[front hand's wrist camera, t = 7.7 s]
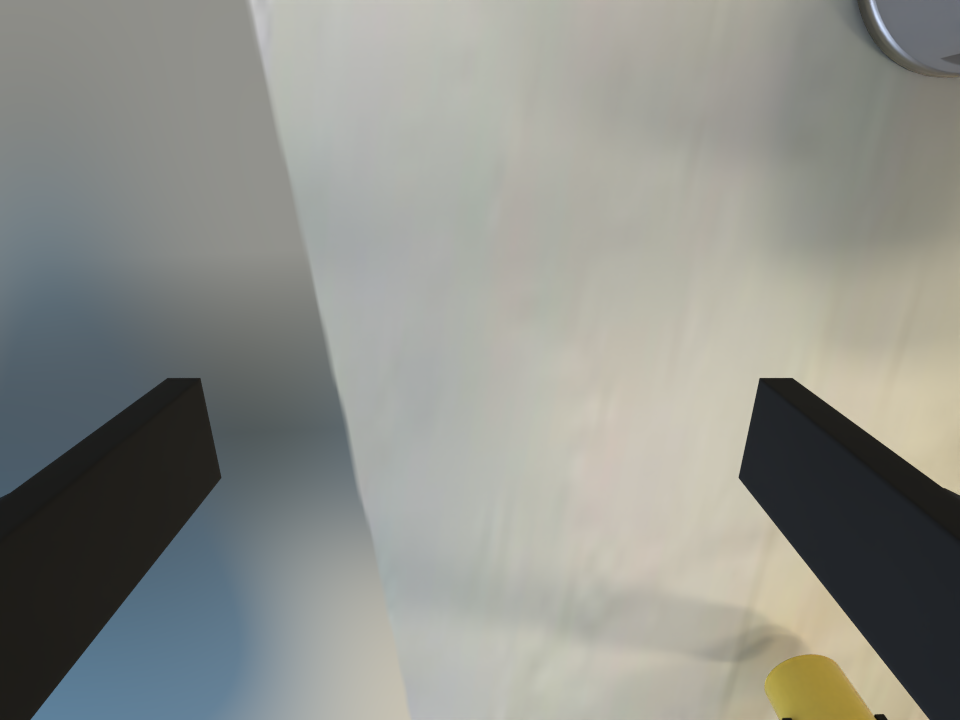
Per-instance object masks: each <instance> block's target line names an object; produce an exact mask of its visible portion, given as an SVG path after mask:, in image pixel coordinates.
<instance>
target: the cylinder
mask: <svg viewBox="0 0 960 720" xmlns="http://www.w3.org/2000/svg"><path fill="white" fill-rule="evenodd" d="M765 693H766V695H767V697H768V699H769V701H770V703H771V705H772V707H773V708H774V710H775V712H776V714H777V716H778V718H779V720H782V718H792V720H876V718H875V717H874V715H873V714H872V713H871V711H870V710H869V708H868V707H867V705H866V704H865V703H864V701H863V700H862V698H861V697H860V695H859V694H858V693H857V691H856V690H855V688H854V687H853V685H852V684H851V683H850V681H849V680H848V678H847V677H846V675H845V674H844V672H843V671H842V670H841V668H840V667H839V665H838V664H837V663H836V662H835V661H833V660H832V659H830V658H828V657H825V656H821V655H811V654H810V655H801V656H797V657H793V658H790V659H788V660H786V661H784V662H782V663H780V664H779V665H778V666H776V667H775V668H774V669H773V670H772V671H771V672H770V674H769V675H768V677H767V679H766V681H765Z"/></svg>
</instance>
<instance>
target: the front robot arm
mask: <svg viewBox="0 0 960 720" xmlns="http://www.w3.org/2000/svg"><path fill="white" fill-rule="evenodd" d="M857 1H858V5H859V9H860V12H861V15H862V18H863V21H864V23H865V25H866V28H867V30H868V32H869V34H870V35H871V37H872V38H873V40H874V41H875V43H876V44H877V45H878V46H879V48H880V49H881V50H882V51H883V52H884V53H885V54H886V55H887V56H888V57H889V58H890V59H892V60H893V61H895V62H896V63H897V64H899V65H901V66H902V67H904V68H906V69H908V70H911V71H913V72H916V73H919V74H923V75H927V76H934V77H958V76H960V0H857ZM220 479H221V474H220V469H219V464H218V460H217V455H216V450H215V446H214V441H213V436H212V431H211V426H210V422H209V417H208V412H207V407H206V403H205V398H204V393H203V389H202V384H201V379H200V378H167V379H166V380H164V381H163V382H162V383H160V384H159V385H158V386H156V387H155V388H153V389H152V390H151V391H149V392H148V393H147V394H145V395H144V396H143V397H141V398H140V399H138V400H137V401H136V402H134V403H133V404H132V405H130V406H129V407H127V408H126V409H125V410H123V411H122V412H121V413H119V414H118V415H116V416H115V417H114V418H112V419H111V420H110V421H108V422H107V423H105V424H104V425H103V426H101V427H100V428H99V429H97V430H96V431H95V432H93V433H92V434H90V435H89V436H88V437H86V438H85V439H84V440H82V441H81V442H79V443H78V444H77V445H75V446H74V447H73V448H71V449H70V450H68V451H67V452H66V453H64V454H63V455H62V456H60V457H59V458H58V459H56V460H55V461H54V462H52V463H51V464H49V465H48V466H47V467H45V468H44V469H42V470H41V471H40V472H38V473H37V474H36V475H34V476H33V477H32V478H30V479H29V480H27V481H26V482H25V483H23V484H22V485H21V486H19V487H18V488H16V489H15V490H14V491H12V492H11V493H9V494H7V495H5V496H3V497H1V498H0V720H31V718H32V717H33V716H34V715H35V713H36V712H37V711H38V709H39V708H40V707H41V706H42V704H43V703H44V702H45V701H46V699H47V698H48V697H49V696H50V694H51V693H52V692H53V690H54V689H55V688H56V687H57V685H58V684H59V683H60V682H61V680H62V679H63V678H64V676H65V675H66V674H67V673H68V671H69V670H70V669H71V668H72V666H73V665H74V664H75V663H76V661H77V660H78V659H79V658H80V656H81V655H82V654H83V652H84V651H85V650H86V649H87V647H88V646H89V645H90V644H91V642H92V641H93V640H94V639H95V637H96V636H97V635H98V633H99V632H100V631H101V630H102V628H103V627H104V626H105V624H106V623H107V622H108V621H109V620H110V618H111V617H112V616H113V614H114V613H115V612H116V611H117V609H118V608H119V607H120V606H121V604H122V603H123V602H124V601H125V599H126V598H127V597H128V595H129V594H130V593H131V592H132V590H133V589H134V588H135V587H136V585H137V584H138V583H139V582H140V580H141V579H142V578H143V576H144V575H145V574H146V573H147V571H148V570H149V569H150V568H151V566H152V565H153V564H154V562H155V561H156V560H157V559H158V557H159V556H160V555H161V554H162V552H163V551H164V550H165V548H166V547H167V546H168V545H169V544H170V542H171V541H172V540H173V538H174V537H175V536H176V535H177V533H178V532H179V531H180V530H181V528H182V527H183V526H184V524H185V523H186V522H187V521H188V519H189V518H190V517H191V516H192V514H193V513H194V512H195V511H196V509H197V508H198V507H199V505H200V504H201V503H202V502H203V500H204V499H205V498H206V497H207V495H208V494H209V493H210V492H211V490H212V489H213V488H214V486H215V485H216V484H217V483H218V481H219V480H220ZM739 479H740V480H741V481H742V483H743V484H744V485H745V486H746V488H747V489H748V490H749V492H750V493H751V494H752V495H753V497H754V498H755V499H756V500H757V502H758V503H759V504H760V505H761V507H762V508H763V509H764V511H765V512H766V513H767V514H768V516H769V517H770V518H771V519H772V521H773V522H774V523H775V525H776V526H777V527H778V528H779V530H780V531H781V532H782V533H783V535H784V536H785V537H786V538H787V540H788V541H789V542H790V544H791V545H792V546H793V547H794V549H795V550H796V551H797V552H798V554H799V555H800V556H801V557H802V559H803V560H804V561H805V563H806V564H807V565H808V566H809V568H810V569H811V570H812V571H813V573H814V574H815V575H816V576H817V578H818V579H819V580H820V582H821V583H822V584H823V585H824V587H825V588H826V589H827V590H828V592H829V593H830V594H831V595H832V597H833V598H834V599H835V601H836V602H837V603H838V604H839V606H840V607H841V608H842V609H843V611H844V612H845V613H846V614H847V616H848V617H849V618H850V620H851V621H852V622H853V623H854V625H855V626H856V627H857V628H858V630H859V631H860V632H861V633H862V635H863V636H864V637H865V639H866V640H867V641H868V642H869V644H870V645H871V646H872V647H873V649H874V650H875V651H876V652H877V654H878V655H879V656H880V658H881V659H882V660H883V661H884V663H885V664H886V665H887V666H888V668H889V669H890V670H891V671H892V673H893V674H894V675H895V677H896V678H897V679H898V680H899V682H900V683H901V684H902V685H903V687H904V688H905V689H906V690H907V692H908V693H909V694H910V696H911V697H912V698H913V699H914V701H915V702H916V703H917V704H918V706H919V707H920V708H921V709H922V711H923V712H924V713H925V715H926V716H927V717H928V718H929V720H960V495H958V494H956V493H954V492H952V491H950V490H947V489H945V488H942V487H941V486H939V485H938V484H937V483H935V482H934V481H933V480H931V479H930V478H929V477H927V476H926V475H924V474H923V473H922V472H920V471H919V470H918V469H916V468H915V467H913V466H912V465H911V464H909V463H908V462H907V461H905V460H904V459H902V458H901V457H900V456H898V455H897V454H896V453H894V452H893V451H892V450H890V449H889V448H887V447H886V446H885V445H883V444H882V443H881V442H879V441H878V440H876V439H875V438H874V437H872V436H871V435H870V434H868V433H867V432H865V431H864V430H863V429H861V428H860V427H859V426H857V425H856V424H855V423H853V422H852V421H850V420H849V419H848V418H846V417H845V416H844V415H842V414H841V413H839V412H838V411H837V410H835V409H834V408H833V407H831V406H830V405H828V404H827V403H826V402H824V401H823V400H822V399H820V398H819V397H818V396H816V395H815V394H813V393H812V392H811V391H809V390H808V389H807V388H805V387H804V386H802V385H801V384H800V383H798V382H797V381H796V380H794V379H793V378H760V379H759V384H758V389H757V393H756V398H755V403H754V407H753V412H752V417H751V422H750V426H749V431H748V436H747V441H746V445H745V450H744V455H743V459H742V464H741V469H740V474H739Z"/></svg>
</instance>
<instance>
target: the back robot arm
mask: <svg viewBox="0 0 960 720" xmlns="http://www.w3.org/2000/svg"><path fill="white" fill-rule="evenodd" d="M874 717H875V718H876V720H887V718H886V717H885V715H884V714H875V715H874ZM782 720H792V718H782Z"/></svg>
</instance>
